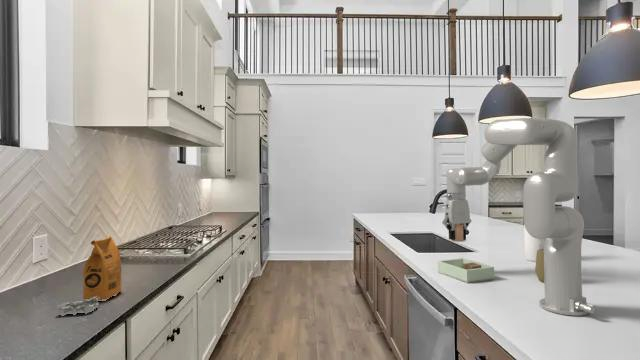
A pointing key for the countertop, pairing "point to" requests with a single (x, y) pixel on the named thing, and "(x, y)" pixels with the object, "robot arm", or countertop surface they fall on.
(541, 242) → the alcohol
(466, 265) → the walnut cube
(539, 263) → the squeeze bottle
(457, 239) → the terracotta cylinder
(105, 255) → the coffee package
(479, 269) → the tote
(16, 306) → the countertop surface
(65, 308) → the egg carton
